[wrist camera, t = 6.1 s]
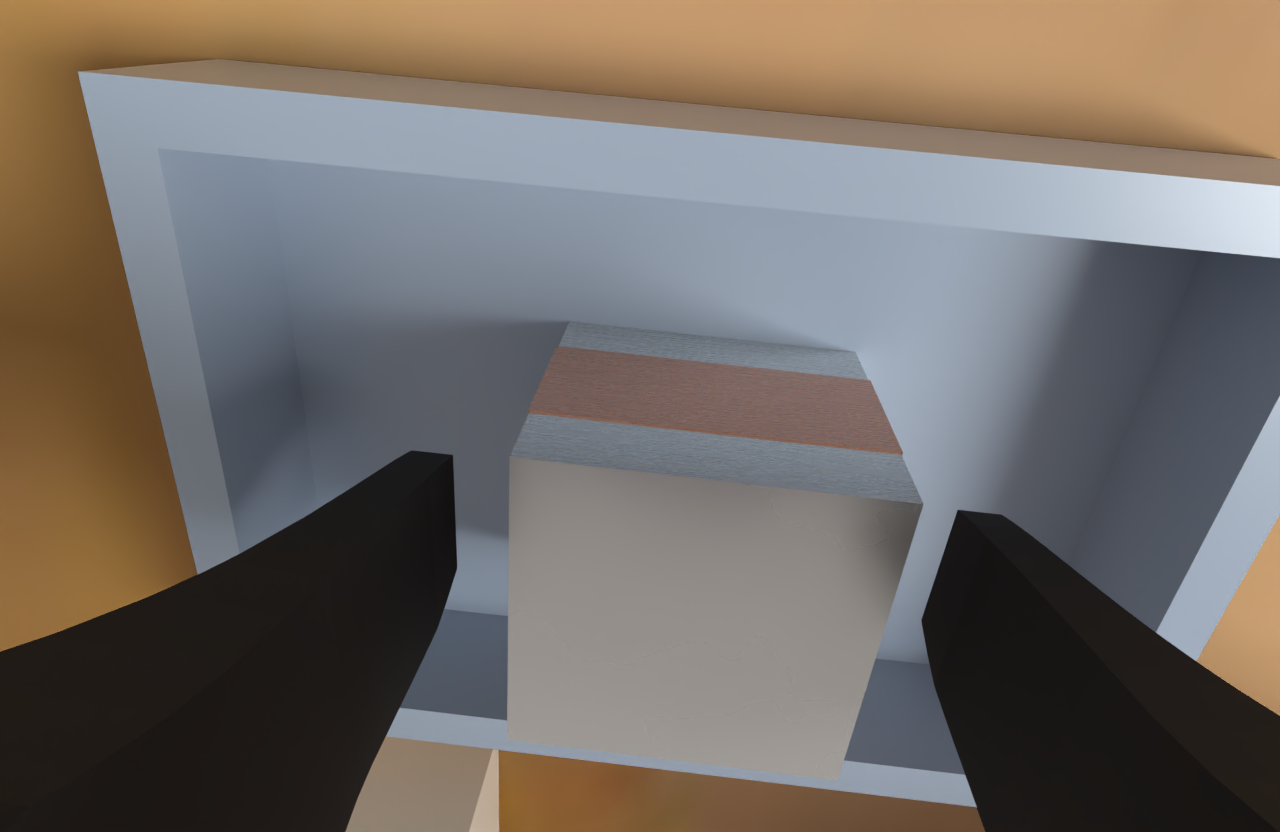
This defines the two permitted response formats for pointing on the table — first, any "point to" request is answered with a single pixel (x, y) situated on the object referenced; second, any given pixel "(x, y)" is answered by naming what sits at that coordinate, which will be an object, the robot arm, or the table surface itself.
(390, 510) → the robot arm
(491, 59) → the table surface
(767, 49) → the table surface
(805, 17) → the table surface
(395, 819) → the white cube
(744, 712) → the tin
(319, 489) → the tote
